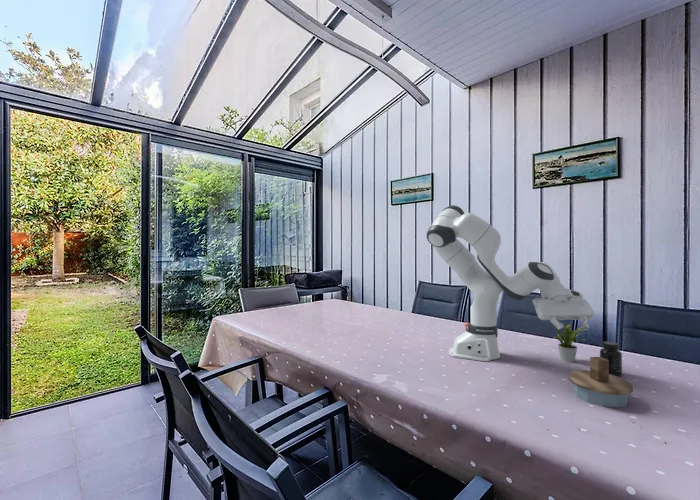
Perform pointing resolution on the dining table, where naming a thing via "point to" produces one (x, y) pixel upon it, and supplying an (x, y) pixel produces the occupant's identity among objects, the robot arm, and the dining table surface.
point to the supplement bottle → (612, 357)
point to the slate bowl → (600, 397)
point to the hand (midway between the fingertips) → (573, 328)
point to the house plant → (567, 343)
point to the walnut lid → (600, 379)
